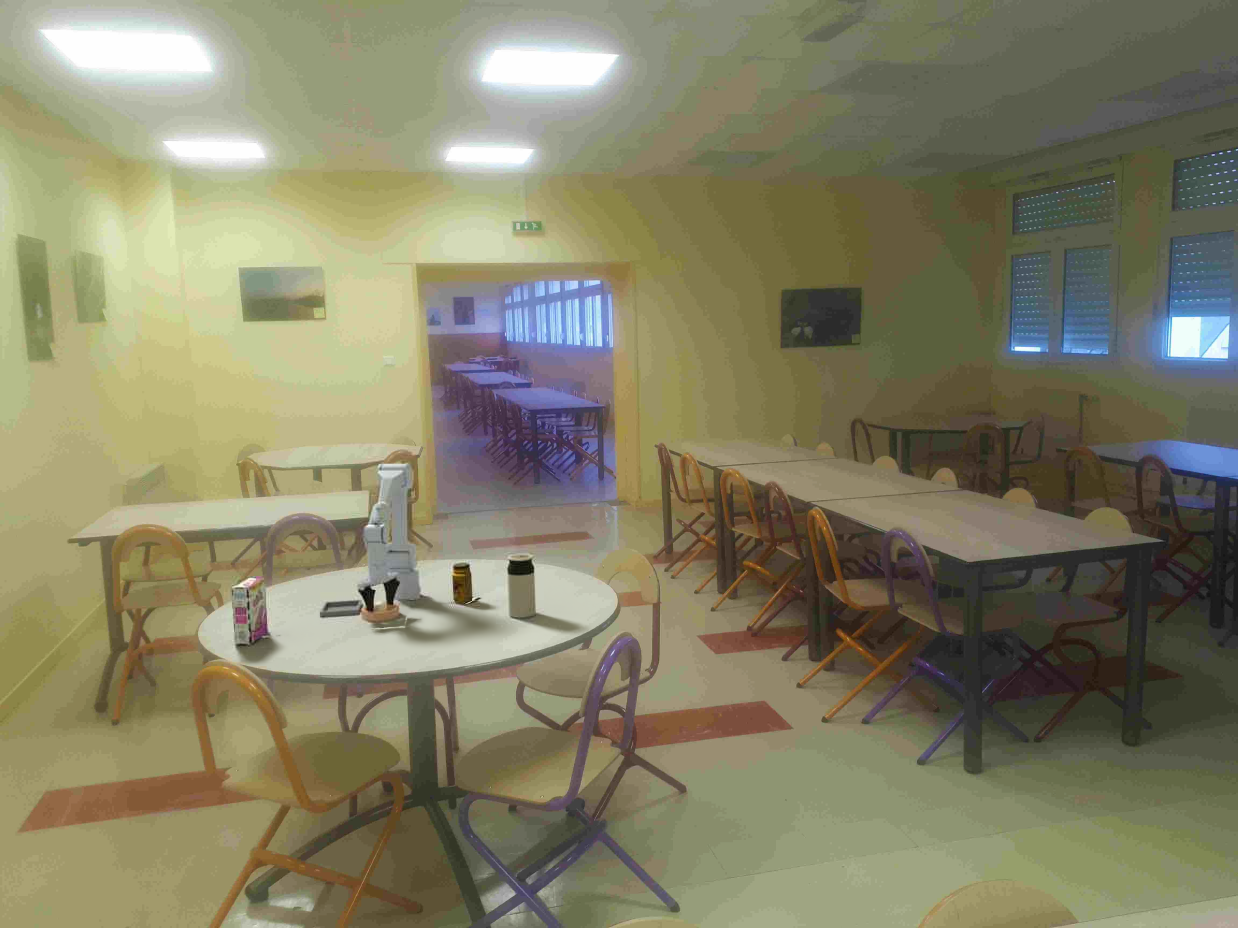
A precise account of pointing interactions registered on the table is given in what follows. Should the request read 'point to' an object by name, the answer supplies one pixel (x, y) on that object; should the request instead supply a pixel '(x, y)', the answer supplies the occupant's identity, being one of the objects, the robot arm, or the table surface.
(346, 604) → the tray
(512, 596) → the travel mug
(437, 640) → the table surface
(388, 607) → the bowl
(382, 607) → the cream round lump
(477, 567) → the table surface
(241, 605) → the candy bar box
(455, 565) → the condiment
